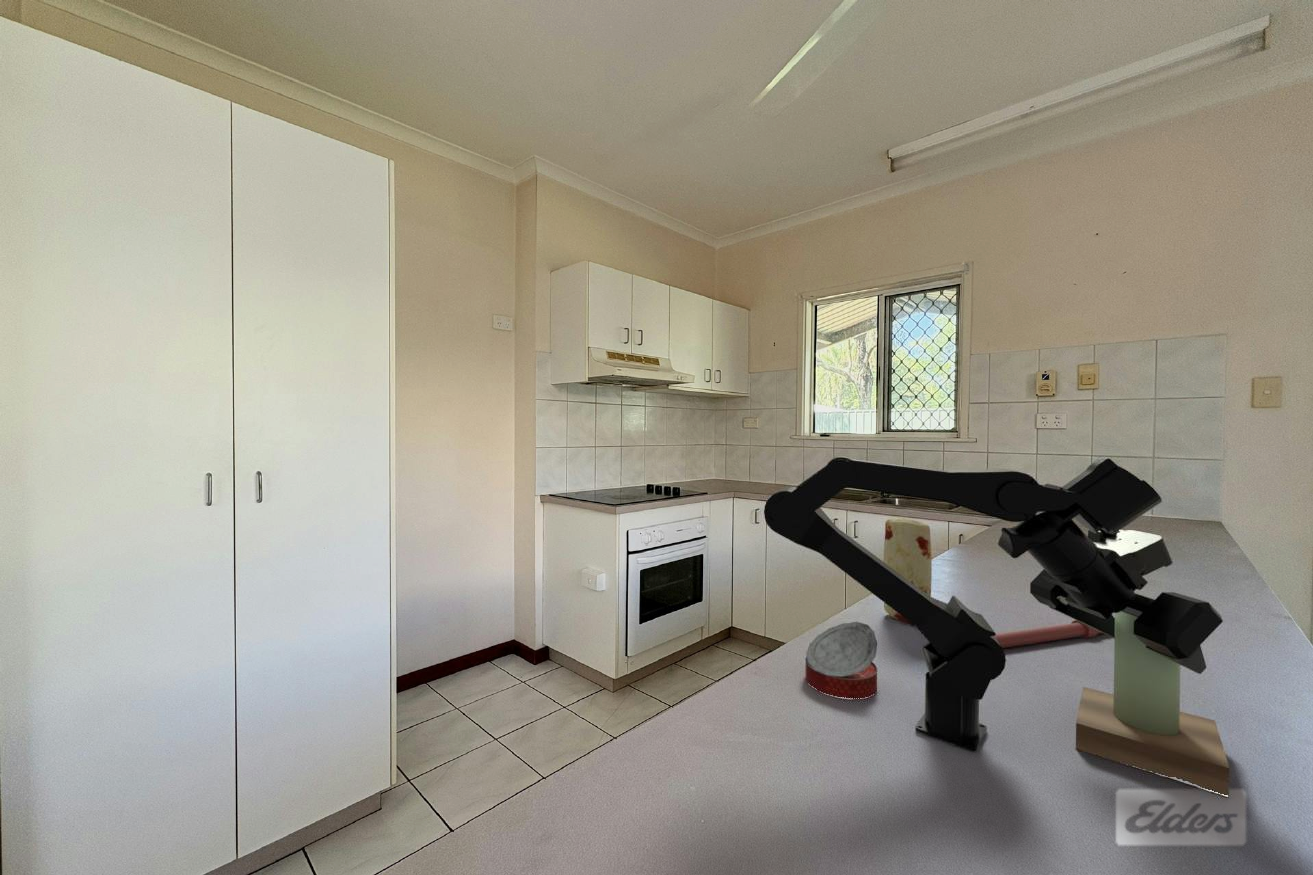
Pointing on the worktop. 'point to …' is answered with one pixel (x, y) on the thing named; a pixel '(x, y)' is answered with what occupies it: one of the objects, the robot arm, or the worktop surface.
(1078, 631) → the red collared rod
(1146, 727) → the green cylinder
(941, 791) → the worktop surface
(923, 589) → the food model
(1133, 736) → the walnut base
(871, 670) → the canned food
